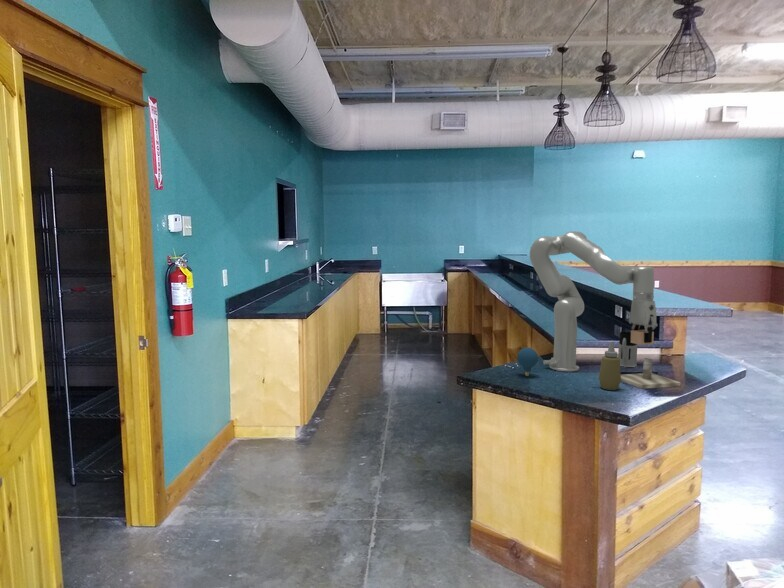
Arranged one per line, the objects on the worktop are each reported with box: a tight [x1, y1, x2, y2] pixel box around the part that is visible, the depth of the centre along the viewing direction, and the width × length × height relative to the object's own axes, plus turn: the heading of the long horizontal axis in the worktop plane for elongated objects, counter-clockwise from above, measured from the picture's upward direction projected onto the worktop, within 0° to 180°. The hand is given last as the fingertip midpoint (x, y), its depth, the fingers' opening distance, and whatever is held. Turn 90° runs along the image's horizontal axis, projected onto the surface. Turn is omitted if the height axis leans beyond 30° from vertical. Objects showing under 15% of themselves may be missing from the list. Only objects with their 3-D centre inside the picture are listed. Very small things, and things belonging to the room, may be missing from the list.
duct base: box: [621, 357, 682, 390], centre depth 220 cm, size 18×16×10 cm
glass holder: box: [617, 331, 638, 368], centre depth 248 cm, size 9×14×15 cm, turn 144°
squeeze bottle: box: [598, 341, 622, 391], centre depth 210 cm, size 8×8×18 cm
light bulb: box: [517, 347, 539, 377], centre depth 228 cm, size 8×8×12 cm
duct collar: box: [630, 329, 655, 346], centre depth 222 cm, size 6×6×5 cm
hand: (642, 340), depth 223 cm, fingers closed on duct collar, 6 cm apart
